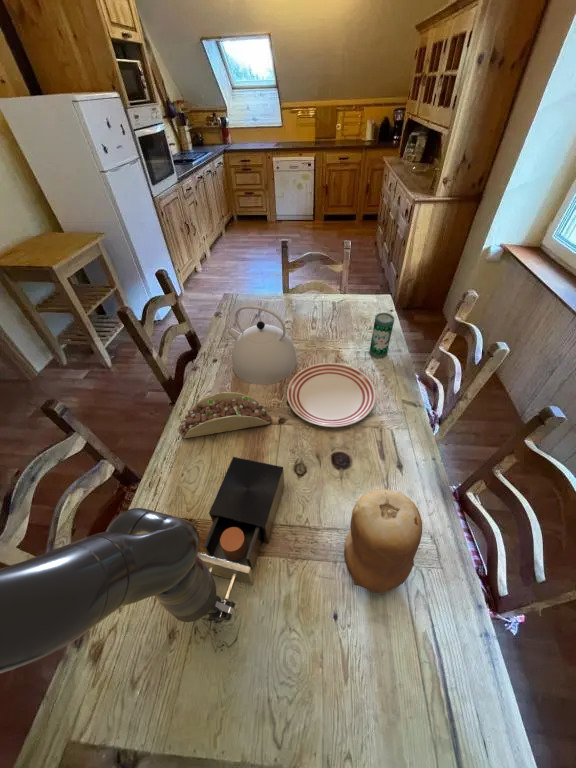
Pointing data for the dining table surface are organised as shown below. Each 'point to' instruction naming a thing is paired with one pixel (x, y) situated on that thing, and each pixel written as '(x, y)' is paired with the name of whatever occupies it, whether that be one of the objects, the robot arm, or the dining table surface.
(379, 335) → the can
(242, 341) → the kettle
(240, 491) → the black rectangular box
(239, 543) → the copper tin
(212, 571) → the wooden drawer
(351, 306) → the dining table surface
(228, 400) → the taco
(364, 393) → the dinner plate
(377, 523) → the butternut squash
